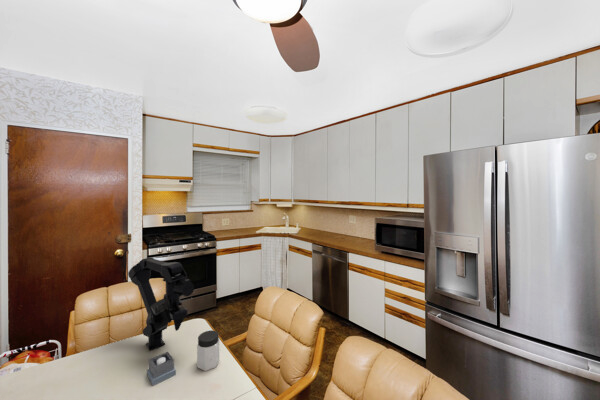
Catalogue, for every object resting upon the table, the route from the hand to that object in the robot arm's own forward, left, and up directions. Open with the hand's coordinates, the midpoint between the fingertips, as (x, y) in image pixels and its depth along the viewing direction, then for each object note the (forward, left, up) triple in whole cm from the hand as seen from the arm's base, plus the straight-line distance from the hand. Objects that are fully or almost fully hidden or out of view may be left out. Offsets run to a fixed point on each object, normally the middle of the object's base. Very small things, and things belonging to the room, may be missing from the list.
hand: (173, 326), depth 110 cm
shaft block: (+11, -8, -12) cm, 18 cm away
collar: (+11, -8, -10) cm, 17 cm away
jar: (+18, +8, -12) cm, 23 cm away
